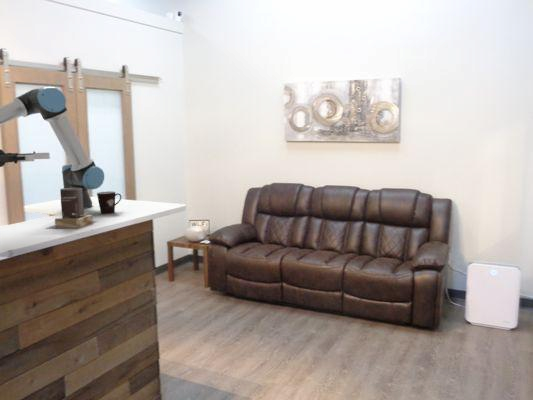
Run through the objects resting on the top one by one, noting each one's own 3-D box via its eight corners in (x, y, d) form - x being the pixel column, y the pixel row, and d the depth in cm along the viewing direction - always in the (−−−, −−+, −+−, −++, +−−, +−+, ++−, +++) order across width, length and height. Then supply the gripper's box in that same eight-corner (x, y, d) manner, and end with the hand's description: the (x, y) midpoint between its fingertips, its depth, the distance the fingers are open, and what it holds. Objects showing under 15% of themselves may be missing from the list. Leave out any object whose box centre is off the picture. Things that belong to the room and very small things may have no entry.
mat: (67, 222, 225) (67, 221, 225) (97, 222, 222) (97, 221, 222) (44, 229, 209) (44, 228, 209) (76, 230, 206) (76, 229, 206)
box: (62, 226, 213) (59, 198, 212) (67, 224, 218) (64, 196, 216) (76, 225, 213) (73, 197, 211) (80, 223, 217) (78, 196, 216)
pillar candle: (61, 220, 230) (58, 187, 228) (63, 216, 240) (61, 185, 237) (83, 218, 233) (81, 186, 231) (85, 215, 242) (82, 184, 240)
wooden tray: (69, 222, 221) (68, 214, 221) (93, 222, 219) (92, 214, 218) (55, 227, 212) (54, 219, 211) (80, 227, 209) (79, 219, 209)
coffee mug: (99, 215, 240) (97, 194, 239) (98, 212, 248) (96, 192, 247) (124, 212, 245) (122, 192, 243) (122, 210, 252) (120, 190, 251)
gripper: (9, 164, 226) (55, 163, 225) (-25, 169, 201) (27, 168, 200) (7, 147, 224) (54, 146, 224) (-27, 151, 200) (25, 149, 199)
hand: (41, 156), depth 212 cm, fingers open, 13 cm apart
